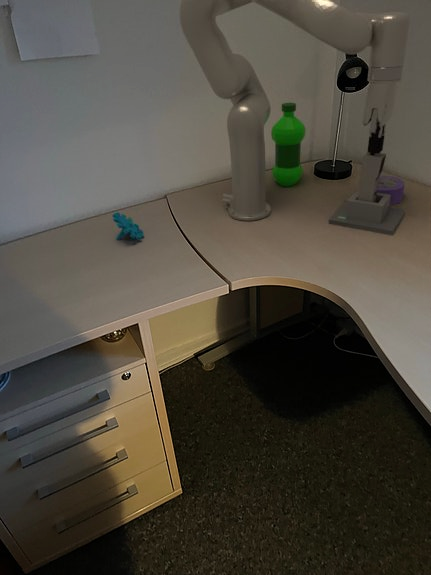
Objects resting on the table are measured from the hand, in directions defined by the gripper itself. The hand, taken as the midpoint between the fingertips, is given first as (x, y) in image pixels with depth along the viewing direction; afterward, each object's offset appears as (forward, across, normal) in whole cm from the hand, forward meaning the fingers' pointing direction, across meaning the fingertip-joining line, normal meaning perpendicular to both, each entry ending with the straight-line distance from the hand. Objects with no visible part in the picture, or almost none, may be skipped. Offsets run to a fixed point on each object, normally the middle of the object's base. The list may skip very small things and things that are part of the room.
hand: (374, 151), depth 119 cm
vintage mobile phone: (+18, 0, 0) cm, 18 cm away
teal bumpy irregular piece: (+19, +36, -55) cm, 68 cm away
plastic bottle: (+19, -16, -31) cm, 40 cm away
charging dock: (+19, 0, 0) cm, 19 cm away
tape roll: (+19, -16, 0) cm, 25 cm away
